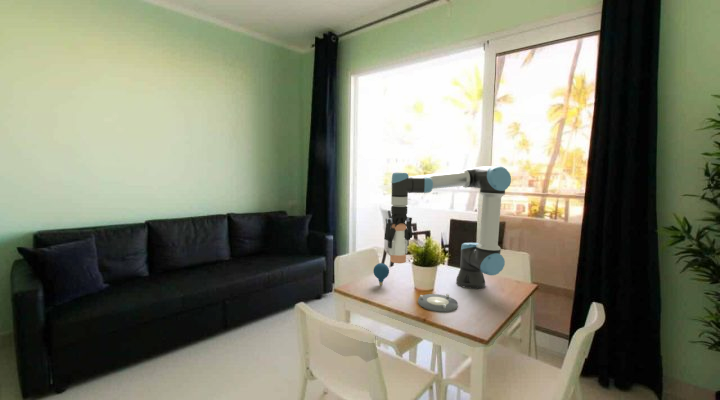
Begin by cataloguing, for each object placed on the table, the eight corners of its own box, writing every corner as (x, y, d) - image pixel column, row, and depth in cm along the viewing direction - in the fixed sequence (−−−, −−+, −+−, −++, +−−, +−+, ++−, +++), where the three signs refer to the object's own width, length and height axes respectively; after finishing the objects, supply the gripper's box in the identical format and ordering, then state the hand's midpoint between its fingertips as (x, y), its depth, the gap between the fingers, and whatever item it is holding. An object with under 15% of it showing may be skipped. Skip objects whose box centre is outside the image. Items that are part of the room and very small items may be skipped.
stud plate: (447, 295, 164) (447, 290, 164) (464, 310, 146) (465, 305, 146) (412, 297, 161) (413, 291, 161) (426, 312, 143) (426, 306, 143)
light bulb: (381, 281, 183) (382, 260, 182) (391, 286, 176) (392, 264, 175) (369, 284, 178) (370, 262, 177) (380, 289, 171) (380, 266, 170)
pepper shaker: (406, 259, 159) (407, 220, 157) (404, 264, 152) (405, 222, 150) (392, 258, 161) (392, 219, 159) (389, 262, 154) (389, 222, 152)
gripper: (411, 204, 162) (410, 249, 164) (376, 205, 152) (376, 254, 154) (421, 205, 155) (420, 253, 157) (385, 207, 146) (384, 258, 148)
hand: (398, 253), depth 156 cm, fingers closed on pepper shaker, 7 cm apart
